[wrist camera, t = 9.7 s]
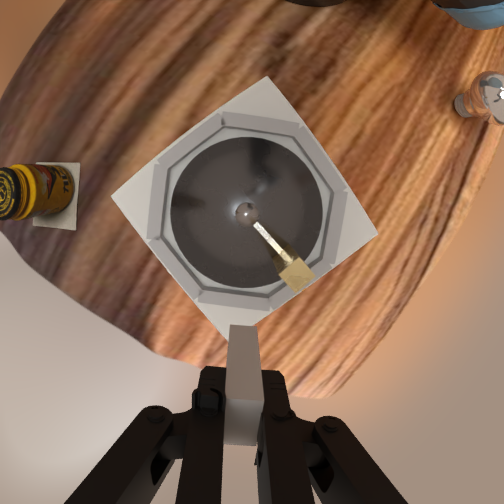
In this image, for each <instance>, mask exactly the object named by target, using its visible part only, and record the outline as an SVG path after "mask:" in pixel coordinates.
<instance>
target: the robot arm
mask: <svg viewBox="0 0 504 504" xmlns="http://www.w3.org/2000/svg"><path fill="white" fill-rule="evenodd" d="M287 1H290V2H293V3H297V4H302V5H307V6H330V5H335V4H339V3H342V2H344V1H346V0H287ZM431 1H432V2H433V4H434V5H435V6H436V7H438V8H439V9H441V10H444V11H445V12H446V13H448V14H449V15H450V16H451V17H453V18H454V19H455V20H456V21H457V22H459V23H460V24H461V25H463V26H465V27H468V28H472V29H475V30H488V29H493V28H497V27H500V26H503V25H504V0H431ZM223 444H231V445H247V446H256V444H258V448H257V453H256V459H255V463H254V465H257V479H258V495H259V504H315V502H314V496H313V492H312V487H313V488H314V490H315V492H316V494H317V496H318V497H319V499H320V501H321V503H322V504H408V503H407V502H406V500H405V499H404V498H403V497H402V495H401V494H400V493H399V492H398V490H397V489H396V488H395V487H394V485H393V484H392V483H391V482H390V480H389V479H388V478H387V477H386V475H385V474H384V473H383V472H382V470H381V469H380V468H379V466H378V465H377V464H376V463H375V462H374V460H373V459H372V458H371V456H370V455H369V454H368V452H367V451H366V450H365V449H364V447H363V446H362V445H361V444H360V442H359V441H358V440H357V438H356V437H355V436H354V434H353V433H352V432H351V431H350V429H349V428H348V427H347V425H346V424H345V423H344V422H343V421H342V420H341V419H339V418H337V417H333V416H323V417H320V418H318V419H317V420H316V422H310V421H306V420H302V419H300V418H298V417H296V414H295V413H294V411H293V410H291V408H290V404H289V399H288V394H287V390H286V385H285V379H284V376H283V375H282V374H281V373H280V372H279V371H275V370H261V364H260V354H259V344H258V334H257V327H256V326H243V325H232V324H230V329H229V341H228V352H227V363H226V368H223V367H213V366H206V367H205V368H204V369H203V370H201V373H200V378H199V384H198V388H197V389H195V390H194V391H193V393H192V408H191V409H190V410H188V411H186V412H183V413H176V414H172V412H171V411H169V409H167V408H165V407H163V406H157V405H156V406H148V407H145V408H144V409H143V410H142V411H141V412H140V413H139V414H138V415H137V416H136V418H135V419H134V420H133V421H132V423H131V424H130V425H129V426H128V427H127V429H126V430H125V431H124V432H123V433H122V435H121V436H120V437H119V438H118V439H117V441H116V442H115V443H114V444H113V446H112V447H111V448H110V449H109V450H108V452H107V453H106V454H105V455H104V456H103V458H102V459H101V460H100V461H99V462H98V464H97V465H96V466H95V467H94V468H93V470H92V471H91V472H90V473H89V474H88V476H87V477H86V478H85V479H84V481H82V483H81V484H80V485H79V486H78V487H77V489H76V490H75V491H74V492H73V493H72V495H71V496H70V497H69V498H68V499H67V500H66V502H65V503H64V504H150V503H151V501H152V499H153V497H154V496H155V494H156V492H157V491H158V489H159V487H160V486H161V484H162V482H163V480H164V479H165V477H166V475H167V473H168V472H169V470H170V469H171V467H172V465H173V463H174V461H175V459H182V458H183V461H182V467H181V472H180V478H179V484H178V490H177V497H176V502H175V504H221V488H222V486H221V485H222V465H223V464H222V463H223ZM311 485H312V487H311Z"/></svg>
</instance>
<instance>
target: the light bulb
mask: <svg viewBox="0 0 504 504" xmlns="http://www.w3.org/2000/svg"><path fill="white" fill-rule="evenodd" d="M454 105H455V109H456V111H457V112H458V113H459V114H460V115H461V116H462V117H465V118H466V117H471V116H474V117H480V118H482V119H483V120H485V121H486V122H488V123H490V124H493V125H497V126H503V125H504V74H502V73H500V72H497V71H485V72H482V73H480V74H479V75H477V76H476V77H475V79H474V80H473V82H472V84H471V87H470V89H469V90H467V91H466V92H465V93H463V94H460V95H458V96H457V97H456V98H455V101H454Z"/></svg>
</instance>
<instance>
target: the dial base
mask: <svg viewBox="0 0 504 504" xmlns="http://www.w3.org/2000/svg"><path fill="white" fill-rule="evenodd" d="M237 137H256V138H263V139H266V140H270V141H273V142H275V143H278V144H280V145H282V146H284V147H285V148H287V149H289V150H290V151H292V152H293V153H294V154H296V155H297V156H298V157H299V158H300V159H301V160H302V161H303V162H304V163H305V164H306V166H307V167H308V168H309V170H310V171H311V173H312V175H313V176H314V178H315V180H316V182H317V185H318V188H319V191H320V194H321V199H322V207H323V219H322V226H321V230H320V234H319V237H318V240H317V242H316V244H315V247H314V248H313V250H312V252H311V253H310V255H309V256H308V258H307V259H306V260H305V261H304V262H305V263H306V264H307V266H308V267H309V268H310V269H311V271H312V272H313V273H314V274H315V276H316V277H314V278H313V279H312V280H311V281H310V282H309V283H308V284H306V285H305V286H304V287H303V288H302V289H301V290H299V291H298V292H297V293H296V294H295V292H294V291H293V290H292V289H291V288H290V287H289V286H288V285H287V284H286V283H285V281H284V280H283V279H282V280H280V281H277V282H275V283H273V284H270V285H266V286H262V287H256V288H237V287H231V286H226V285H223V284H220V283H217V282H215V281H213V280H211V279H209V278H207V277H206V276H204V275H203V274H201V273H200V272H198V271H197V270H196V269H195V268H194V267H193V266H192V265H191V264H190V263H189V262H188V261H187V259H186V258H185V257H184V255H183V254H182V252H181V251H180V249H179V247H178V245H177V243H176V241H175V238H174V234H173V231H172V226H171V219H170V207H171V199H172V195H173V191H174V188H175V185H176V183H177V180H178V179H179V177H180V175H181V173H182V172H183V170H184V169H185V167H186V166H187V165H188V164H189V162H190V161H191V160H192V159H193V158H194V157H195V156H197V155H198V154H199V153H200V152H202V151H203V150H205V149H206V148H208V147H209V146H211V145H213V144H216V143H218V142H220V141H223V140H227V139H231V138H237ZM111 197H112V199H113V200H114V201H115V203H116V204H117V206H118V207H119V208H120V210H121V211H122V212H123V214H124V215H125V216H126V218H127V219H128V220H129V222H130V223H131V224H132V226H133V227H134V228H135V230H136V231H137V232H138V234H139V235H140V236H141V237H142V239H143V240H144V241H145V243H146V244H147V245H148V247H149V248H150V249H151V250H152V252H153V253H154V254H155V255H156V257H157V258H158V259H159V260H160V262H161V263H162V264H163V265H164V267H165V268H166V269H167V271H168V272H169V274H171V275H172V277H173V278H174V279H175V280H176V281H177V283H178V284H179V285H180V286H181V288H182V289H183V290H184V291H185V292H186V294H187V295H188V296H189V297H190V298H191V300H192V301H193V302H194V303H195V304H196V305H197V307H198V308H199V309H200V310H201V311H202V312H203V314H204V315H205V316H206V317H207V318H208V319H209V321H210V322H211V323H212V324H213V325H214V326H215V327H216V329H217V330H218V331H219V332H220V333H221V334H222V335H223V336H224V338H225V339H226V340H227V341H229V329H230V324H232V325H243V326H253V325H254V324H256V323H257V322H259V321H260V320H262V319H263V318H265V317H266V316H267V315H269V314H270V313H272V312H273V311H275V310H276V309H278V308H279V307H280V306H282V305H283V304H285V303H286V302H287V301H289V300H290V299H292V298H293V297H295V296H296V295H297V294H299V293H300V292H303V291H304V290H305V289H306V288H307V287H308V286H310V285H311V284H313V283H314V282H315V281H317V280H318V279H319V278H321V277H322V276H324V275H325V274H326V273H328V272H329V271H330V270H332V269H333V268H334V267H336V266H337V265H338V264H340V263H341V262H342V261H344V260H345V259H346V258H348V257H349V256H350V255H352V254H353V253H354V252H356V251H357V250H358V249H359V248H361V247H362V246H363V245H365V244H366V243H367V242H369V241H370V240H371V239H372V238H374V237H375V236H376V235H377V234H378V232H377V230H376V229H375V227H374V225H373V224H372V222H371V220H370V219H369V217H368V215H367V214H366V212H365V210H364V209H363V207H362V206H361V204H360V202H359V201H358V199H357V198H356V196H355V195H354V193H353V192H352V190H351V188H350V187H349V185H348V184H347V182H346V181H345V179H344V178H343V176H342V175H341V173H340V172H339V170H338V169H337V167H336V166H335V165H334V163H333V162H332V160H331V159H330V157H329V156H328V154H327V153H326V152H325V150H324V149H323V147H322V146H321V145H320V143H319V142H318V140H317V139H316V138H315V136H314V135H313V133H312V132H311V131H310V129H309V128H308V127H307V125H306V124H305V123H304V121H303V120H302V119H301V117H300V116H299V115H298V113H297V112H296V111H295V110H294V108H293V107H292V106H291V104H290V103H289V102H288V101H287V99H286V98H285V97H284V96H283V94H282V93H281V92H280V91H279V89H278V88H277V87H276V86H275V84H274V83H273V82H272V81H271V80H270V78H269V77H268V76H266V77H264V78H263V79H261V80H260V81H258V82H257V83H255V84H254V85H252V86H250V87H249V88H247V89H246V90H244V91H243V92H241V93H240V94H238V95H237V96H235V97H234V98H233V99H231V100H230V101H228V102H227V103H225V104H224V105H222V106H221V107H220V108H218V109H217V110H215V111H214V112H213V113H211V114H210V115H209V116H207V117H206V118H204V119H203V120H202V121H200V122H199V123H198V124H196V125H195V126H194V127H192V128H191V129H190V130H188V131H187V132H186V133H185V134H183V135H182V136H181V137H179V138H178V139H177V140H176V141H174V142H173V143H172V144H171V145H169V146H168V147H167V148H166V149H164V150H163V151H162V152H161V153H159V154H158V155H157V156H156V157H155V158H153V159H152V160H151V161H150V162H149V163H147V164H146V165H145V166H144V167H143V168H142V169H140V170H139V171H138V172H137V173H136V174H135V175H134V176H132V177H131V178H130V179H129V180H128V181H127V182H126V183H125V184H123V185H122V186H121V187H120V188H119V189H118V190H117V191H116V192H115V193H114V194H113V195H111Z"/></svg>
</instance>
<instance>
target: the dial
mask: <svg viewBox="0 0 504 504" xmlns="http://www.w3.org/2000/svg"><path fill="white" fill-rule="evenodd" d="M170 219H171V226H172V231H173V234H174V238H175V241H176V243H177V245H178V247H179V249H180V251H181V252H182V254H183V255H184V257H185V258H186V259H187V261H188V262H189V263H190V264H191V265H192V266H193V267H194V268H195V269H196V270H197V271H198V272H200V273H201V274H203V275H204V276H206V277H207V278H209V279H211V280H213V281H215V282H217V283H220V284H223V285H226V286H231V287H237V288H256V287H262V286H266V285H270V284H273V283H275V282H277V281H280V280H282V279H283V280H284V281H285V283H286V284H287V285H288V286H289V287H290V288H291V289H292V290H293V291H294V292H295V294H296V293H297V292H298V291H299V290H301V289H302V288H303V287H304V286H305V285H306V284H308V283H309V282H310V281H311V280H312V279H313V278H314V277H316V276H315V274H314V273H313V272H312V271H311V269H310V268H309V267H308V266H307V264H306V263H305V262H304V261H305V260H306V259H307V258H308V256H309V255H310V253H311V252H312V250H313V248H314V247H315V244H316V242H317V240H318V237H319V234H320V230H321V226H322V219H323V207H322V199H321V194H320V191H319V188H318V185H317V182H316V180H315V178H314V176H313V175H312V173H311V171H310V170H309V168H308V167H307V166H306V164H305V163H304V162H303V161H302V160H301V159H300V158H299V157H298V156H297V155H296V154H294V153H293V152H292V151H290V150H289V149H287V148H285V147H284V146H282V145H280V144H278V143H275V142H273V141H270V140H266V139H263V138H256V137H237V138H231V139H227V140H223V141H220V142H218V143H216V144H213V145H211V146H209V147H208V148H206V149H205V150H203V151H202V152H200V153H199V154H198V155H197V156H195V157H194V158H193V159H192V160H191V161H190V162H189V164H188V165H187V166H186V167H185V169H184V170H183V172H182V173H181V175H180V177H179V179H178V180H177V183H176V185H175V188H174V191H173V195H172V199H171V207H170Z"/></svg>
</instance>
